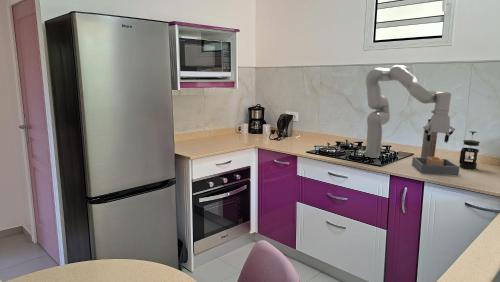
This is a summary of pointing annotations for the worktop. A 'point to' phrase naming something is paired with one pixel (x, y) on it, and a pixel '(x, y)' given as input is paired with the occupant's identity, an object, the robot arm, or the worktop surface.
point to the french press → (462, 161)
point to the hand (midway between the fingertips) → (437, 141)
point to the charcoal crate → (435, 167)
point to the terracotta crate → (434, 161)
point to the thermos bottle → (429, 144)
